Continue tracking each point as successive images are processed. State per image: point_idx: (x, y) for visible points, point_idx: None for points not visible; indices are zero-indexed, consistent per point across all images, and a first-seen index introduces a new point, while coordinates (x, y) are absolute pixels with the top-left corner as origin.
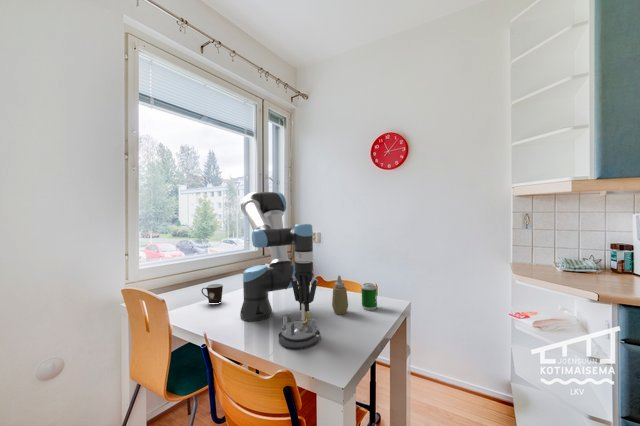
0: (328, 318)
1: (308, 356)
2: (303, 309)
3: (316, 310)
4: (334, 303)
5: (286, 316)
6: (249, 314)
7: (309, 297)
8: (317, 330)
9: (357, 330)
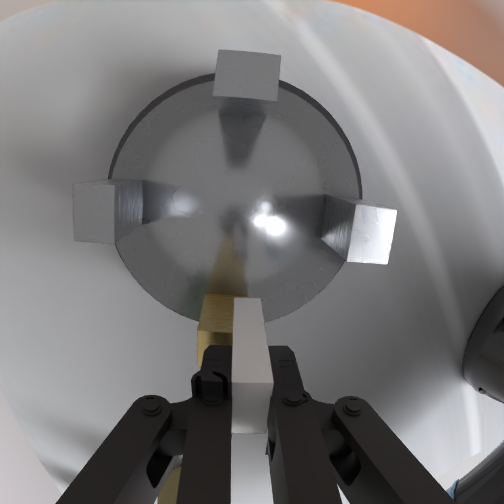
0: None
1: (107, 70)
2: (240, 345)
3: None
4: None
5: (363, 208)
6: None
7: (133, 450)
8: None
9: (48, 368)
